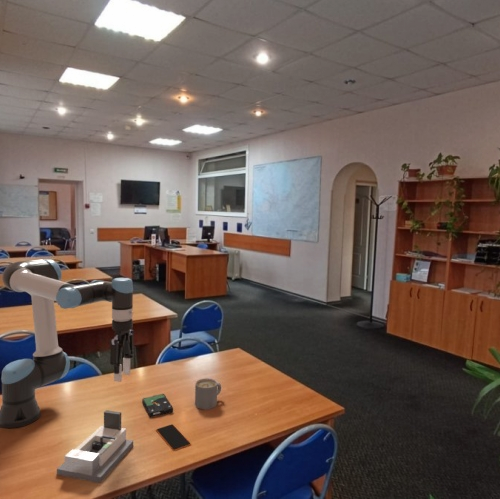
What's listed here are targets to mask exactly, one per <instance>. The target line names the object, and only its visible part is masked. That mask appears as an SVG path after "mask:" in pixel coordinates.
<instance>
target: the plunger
mask: <svg viewBox="0 0 500 499" xmlns="http://www.w3.org/2000/svg"><path fill="white" fill-rule="evenodd" d="M103 426H104V428H103V429H102V430H101V431H100V432H99V433H97V434H96V435H95V441H98V442H100V437H101V436H103V435H106V436H112V437H114V436H115V435H116V434H117V433H118V432H119V431H120V430H121V429H122V412H121V411H115V410H107V409H106V410H105V411H104V412H103ZM110 440H111V439H107V438H103V442H104V443H108V442H109V441H110Z"/></svg>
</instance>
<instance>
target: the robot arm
mask: <svg viewBox="0 0 500 499" xmlns="http://www.w3.org/2000/svg"><path fill="white" fill-rule="evenodd" d="M1 276H2V278H1V279H2V284H4V286H5V287H6V288H7V289H9V290H11V291H13V292H17V293H23V292H26V293H27V294H29V295H30V297H31V308H32V318H33V319H32V320H33V327H34V328H33V329H34V339H35V340H34V341H35V351H34V352H33V353H32V359H31V358H22V359H17V360H14V361H11V362H9V363H8V364H6V365H5V366H4V367H3V369H2V371H1V378H0V381H1V400H2V402H1V403H2V404H1V406H0V427H1V428H4V429H15V428H22V427H24V426H27V425H31V424H32V423H34V422H36V421H37V420H38V419H39V418H40V416H41V409H40V406H39V403H38V401H37V399H36V389H38V388H39V389H40V388H41V387H44V386H46V385H49V384H51V383H54V382H55V383H56V382H58V381H59V380H61V379H63V378H64V377H65V376H67V374H68V372H69V370H70V366H71V363H70V358H69V356H68V354H67V353H66V352H64V351H63V348H62V347H60V346H59V341H58V330H57V329H58V328H57V320H56V309H55V306H56V305H55V302H56V303H57V305H58V306H60V308H61V309H65V310H67V309H74V308H78V307H81V306H87V305H90V304H94V303H98V302H99V303H100V302H109V303H111V319H112V320H111V329H112V330H113V331H114V338H110V339H109V343H110V352H109V353H110V360H109V365H110V366H113V382H118V383H121V382H122V380H123V379H122V378H123V377H122V376H123V375H124V376H130V375H131V359H133V358H134V354H135V353H134V334H135V331H134V330H133V327H134V326H133V323H134V321H133V315H134V310H133V306H134V305H133V304H134V303H133V302H134V299H133V298H134V286H133V280H132V279H131V278H129V277H116V278H113V279H112V280H111V281H106V280H103V279H94V280H91V281H90V282H89V283H84V284H77V285H76V284H72V283H69V282H64V281H61V280H62V278H63V277H62V269H61V267H60V265H59V264H58V263H57V262H56V261H55V260H53V259H50V258H46V259H45V258H40V259H33V260H32V259H31V260H23V261H22V260H21V261H16V262H13V263H11V264H9V265H7V266H6V267H5V269H4V270H3V272H2V275H1ZM122 355H123V356H124V357H123V358H122ZM121 361H122V362H121ZM121 363H122V364H121Z"/></svg>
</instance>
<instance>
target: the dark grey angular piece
mask: <svg viewBox="0 0 500 499" xmlns="http://www.w3.org/2000/svg"><path fill="white" fill-rule="evenodd" d="M103 438H107V439H113V440H115V437H112V436H106V435H103V436H101V437H100V442H98V441H95V442H94V443H92V449H96V450H101V449H102V447H103V446H104V445H105V444H107V443H104V442H103Z"/></svg>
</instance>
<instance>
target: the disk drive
mask: <svg viewBox="0 0 500 499" xmlns="http://www.w3.org/2000/svg"><path fill="white" fill-rule="evenodd" d="M141 401H142V404H143V407H144V409H145V410H146V413H147V415H148V417H149V418H155V417H159V416H163V415H168V414H172V413H174V407H173V405H172V404H171V402H170V401H169V398H167V396H166V395H165V394H164V393H162V394H156V395H155V394H154V395H152V396H148V397H142V400H141Z"/></svg>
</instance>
